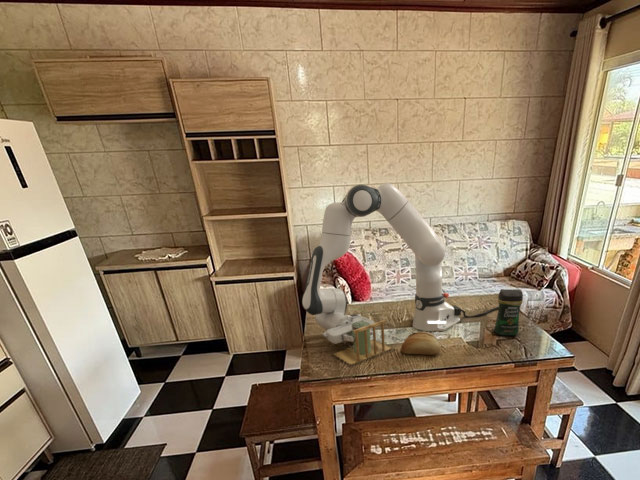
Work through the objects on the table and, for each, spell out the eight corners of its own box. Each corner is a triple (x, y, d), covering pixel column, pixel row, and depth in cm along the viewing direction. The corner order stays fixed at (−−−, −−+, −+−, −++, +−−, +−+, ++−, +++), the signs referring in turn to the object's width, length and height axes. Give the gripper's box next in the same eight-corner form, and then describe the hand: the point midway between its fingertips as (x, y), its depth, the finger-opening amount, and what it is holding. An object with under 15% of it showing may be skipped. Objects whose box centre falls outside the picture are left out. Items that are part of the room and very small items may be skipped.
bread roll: (401, 348, 161) (401, 329, 157) (439, 347, 160) (440, 328, 156) (401, 359, 153) (400, 339, 149) (441, 358, 152) (441, 339, 148)
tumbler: (364, 345, 163) (362, 319, 157) (375, 351, 158) (373, 324, 153) (350, 350, 159) (347, 324, 154) (360, 356, 154) (358, 329, 149)
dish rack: (373, 340, 168) (371, 310, 162) (392, 349, 160) (391, 318, 154) (332, 355, 157) (329, 324, 151) (350, 366, 149) (347, 333, 143)
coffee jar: (495, 336, 168) (500, 292, 158) (493, 329, 174) (497, 286, 165) (519, 336, 166) (525, 292, 157) (516, 329, 173) (522, 286, 164)
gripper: (319, 326, 157) (339, 336, 148) (361, 312, 168) (383, 321, 159) (321, 341, 160) (341, 352, 151) (362, 326, 171) (383, 336, 162)
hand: (362, 336), depth 155 cm, fingers closed on tumbler, 7 cm apart
